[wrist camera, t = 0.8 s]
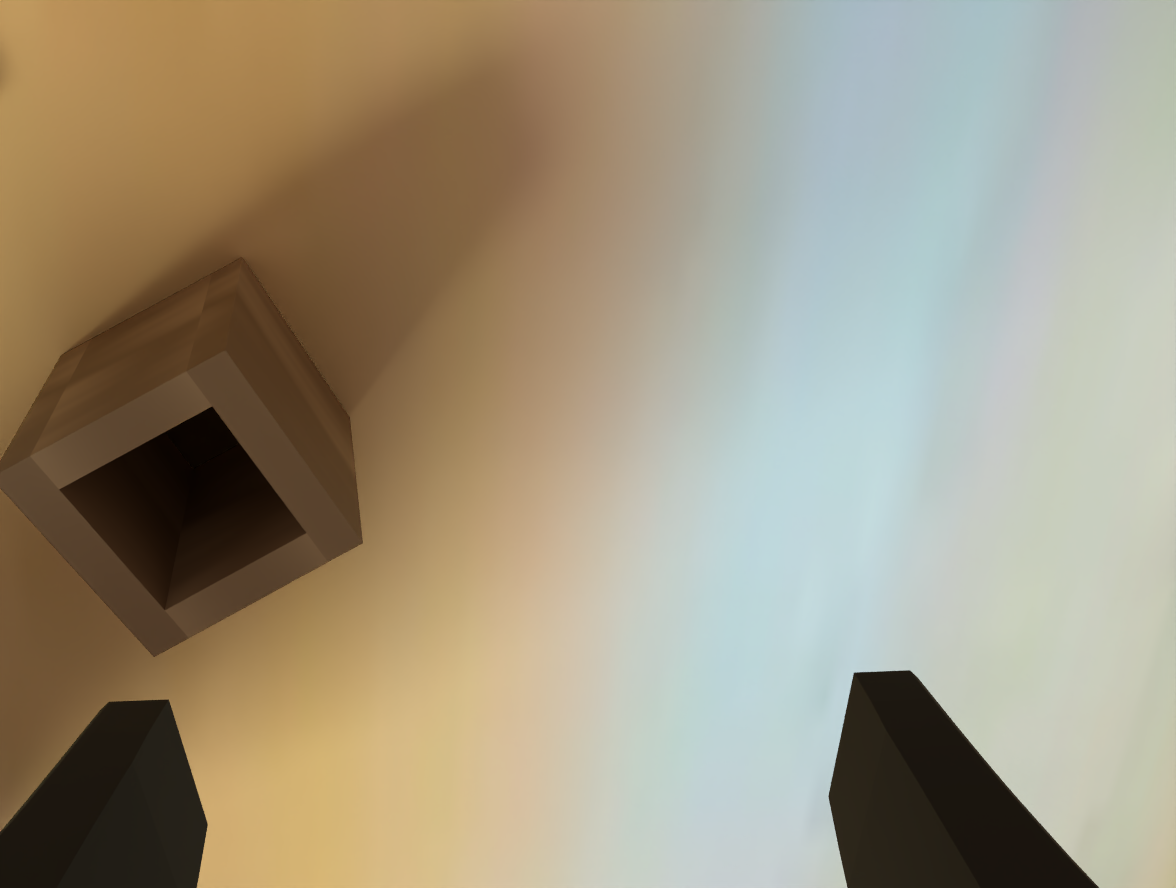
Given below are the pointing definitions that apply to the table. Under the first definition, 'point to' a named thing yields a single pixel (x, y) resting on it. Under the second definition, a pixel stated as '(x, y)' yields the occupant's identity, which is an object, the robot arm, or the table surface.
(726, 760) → the table surface
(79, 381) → the hollow wooden block
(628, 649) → the table surface
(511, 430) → the table surface
